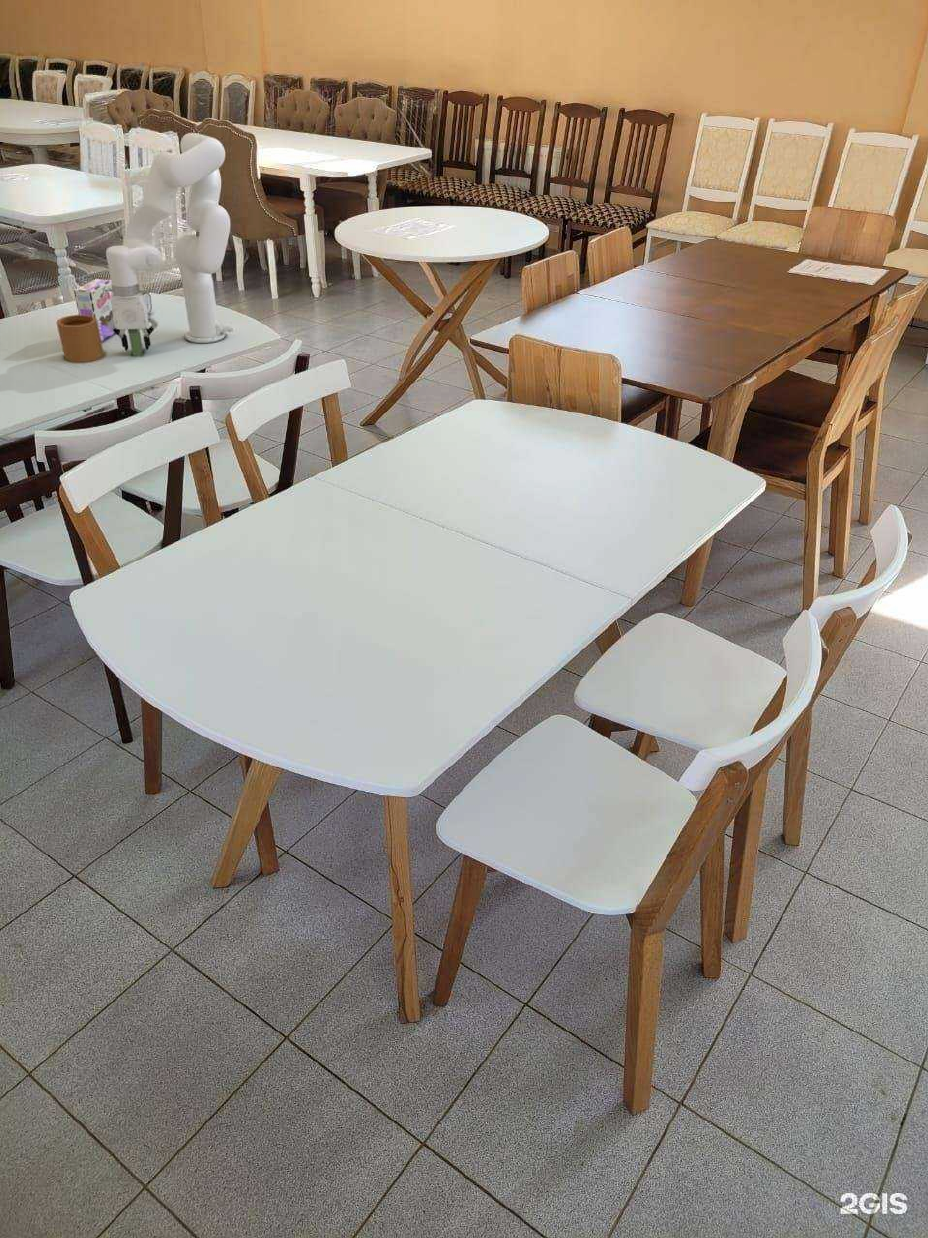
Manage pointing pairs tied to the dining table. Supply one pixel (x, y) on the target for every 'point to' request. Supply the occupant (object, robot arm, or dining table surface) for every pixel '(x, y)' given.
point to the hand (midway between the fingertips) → (137, 347)
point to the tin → (147, 300)
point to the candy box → (96, 304)
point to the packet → (135, 342)
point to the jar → (80, 338)
